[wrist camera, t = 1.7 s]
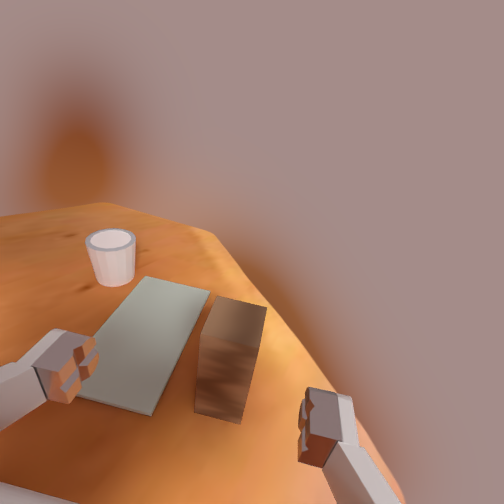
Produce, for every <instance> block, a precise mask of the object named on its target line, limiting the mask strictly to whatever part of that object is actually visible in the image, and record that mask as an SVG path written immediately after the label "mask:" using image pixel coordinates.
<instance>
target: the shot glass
mask: <svg viewBox="0 0 504 504" xmlns="http://www.w3.org/2000/svg"><path fill="white" fill-rule="evenodd" d="M85 244H86V247H87V251H88V254H89V257H90V260H91V263H92V267H93V270H94V273H95V276H96V279H97V281H98V282H99V284H101V285H104V286H108V287H116V286H122V285H124V284H127V283H128V282H130V281H131V280H132V279H133V278H134V276H135V248H136V236H135V235H134V234H133V233H132V232H130V231H128V230H125V229H118V228H111V229H103V230H98V231H96V232H94V233H91V234H90V235H89V236H88V237H87V238H86V241H85Z"/></svg>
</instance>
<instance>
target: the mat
mask: <svg viewBox="0 0 504 504" xmlns="http://www.w3.org/2000/svg"><path fill="white" fill-rule="evenodd" d="M209 295H210V291H208V290H203V289H199V288H195V287H191V286H186V285H182V284H178V283H174V282H169V281H165V280H161V279H157V278H152V277H148V276H145V277H144V278H143V279H142V280H141V281H140V282H139V284H138V285H137V286H136V287H135V288H134V289H133V291H132V292H131V293H130V294H129V295H128V296H127V297H126V299H125V300H124V301H123V302H122V303H121V304H120V306H119V307H118V308H117V309H116V310H115V311H114V313H113V314H112V315H111V316H110V317H109V318H108V320H107V321H106V322H105V323H104V324H103V325H102V327H101V328H100V329H99V330H98V331H97V332H96V333H95V335H94V336H93V338H95V340H96V345H95V346H94V348H95V349H96V350H97V351H98V353H99V361H98V364H97V367H96V369H95V371H94V372H93V373H92V375H91V376H90V377H89V378H87V379H85V380H83V381H82V388H81V390H80V391H79V392H78V393H77V395H76V396H78V397H81V398H85V399H89V400H93V401H96V402H100V403H104V404H107V405H111V406H115V407H118V408H122V409H126V410H129V411H133V412H137V413H140V414H144V415H148V416H152V414H153V412H154V410H155V408H156V405H157V403H158V401H159V399H160V397H161V395H162V393H163V391H164V389H165V387H166V384H167V382H168V380H169V378H170V376H171V374H172V372H173V370H174V368H175V366H176V364H177V361H178V359H179V357H180V355H181V353H182V351H183V349H184V347H185V345H186V343H187V341H188V338H189V336H190V334H191V332H192V330H193V328H194V326H195V324H196V322H197V320H198V318H199V315H200V313H201V311H202V309H203V307H204V305H205V303H206V301H207V299H208V297H209Z"/></svg>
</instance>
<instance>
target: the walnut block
mask: <svg viewBox="0 0 504 504" xmlns="http://www.w3.org/2000/svg"><path fill="white" fill-rule="evenodd" d="M266 310H267V307H263V306H259V305H254V304H250V303H246V302H242V301H238V300H233V299H229V298H225V297H221V296H217V297H216V299H215V302H214V304H213V306H212V308H211V311H210V313H209V315H208V317H207V320H206V322H205V324H204V327H203V329H202V331H201V333H200V345H199V357H198V370H197V383H196V395H195V408H194V412H195V413H199V414H202V415H206V416H210V417H214V418H217V419H221V420H225V421H229V422H232V423H236V424H241V420H242V416H243V412H244V408H245V404H246V400H247V396H248V392H249V388H250V384H251V380H252V376H253V371H254V367H255V363H256V359H257V355H258V351H259V347H260V342H261V336H262V331H263V326H264V321H265V316H266Z"/></svg>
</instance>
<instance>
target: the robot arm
mask: <svg viewBox="0 0 504 504" xmlns="http://www.w3.org/2000/svg"><path fill="white" fill-rule="evenodd" d="M95 345H96V340H95V338H93V337H89V336H85V335H81V334H77V333H73V332H69V331H65V330H61V329H57V328H55V329H53V330H51V331H49V332H48V333H47V334H46V335H45V336H44V337H43V338H42V339H41V340H40V341H39V342H37V343H36V344H35V345H34V346H33V347H32V348H31V349H30V350H29V351H28V352H27V353H26V354H25V355H24V356H22V357H21V358H20V359H19V360H18V361H17V362H16V363H15V362H11V363H8V364H6V365H4V366H1V367H0V431H2V430H3V429H5V428H6V427H8V426H9V425H11V424H12V423H14V422H15V421H17V420H18V419H20V418H21V417H23V416H25V415H26V414H28V413H29V412H31V411H32V410H34V409H35V408H37V407H38V406H40V405H41V404H43V403H44V402H46V401H47V400H52V401H56V402H61V403H66V404H70V403H71V401H72V400H73V399H74V397H75V396H76V395H77V393H78V392H79V391H80V390H81V388H82V381H83V380H85V379H87V378H89V377H90V376H91V375H92V373H93V372H94V371H95V369H96V367H97V364H98V361H99V353H98V351H97V350H96V349H95V348H94V346H95ZM46 399H47V400H46ZM298 428H299V430H300V431H301V434H300V437H299V439H298V462H301V463H304V464H308V465H311V466H315V467H318V468H322V471H323V473H324V475H325V478H326V480H327V482H328V484H329V486H330V489H331V491H332V493H333V495H334V498H335V500H336V502H337V504H401V502H400V501H399V499H398V498H397V496H396V495H395V493H394V492H393V490H392V489H391V487H390V486H389V484H388V483H387V481H386V480H385V478H384V477H383V475H382V474H381V472H380V471H379V469H378V468H377V466H376V465H375V463H374V462H373V460H372V459H371V457H370V456H369V454H368V453H367V451H366V450H365V448H364V447H360V446H359V440H358V433H357V427H356V421H355V414H354V408H353V402H352V399H351V397H350V396H347V395H342V394H337V393H335V392H331V391H326V390H321V389H317V388H312V387H308V388H307V389H306V392H305V399H303V400H302V403H301V406H300V411H299V420H298ZM0 504H79V503H75V502H71V501H68V500H64V499H61V498H57V497H53V496H50V495H46V494H43V493H39V492H35V491H32V490H28V489H25V488H21V487H17V486H14V485H10V484H7V483H3V482H0Z"/></svg>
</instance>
